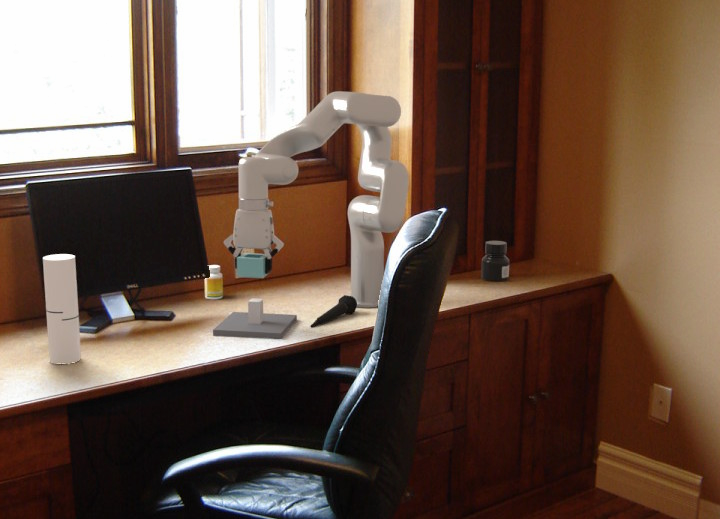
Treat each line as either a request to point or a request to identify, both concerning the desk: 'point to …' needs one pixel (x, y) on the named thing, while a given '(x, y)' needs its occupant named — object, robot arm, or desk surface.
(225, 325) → the post board
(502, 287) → the desk surface
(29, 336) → the desk surface
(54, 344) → the cylindrical container
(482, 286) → the desk surface
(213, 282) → the supplement bottle
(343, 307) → the microphone
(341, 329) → the desk surface
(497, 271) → the ink bottle
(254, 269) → the teal hollow cube
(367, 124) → the robot arm
